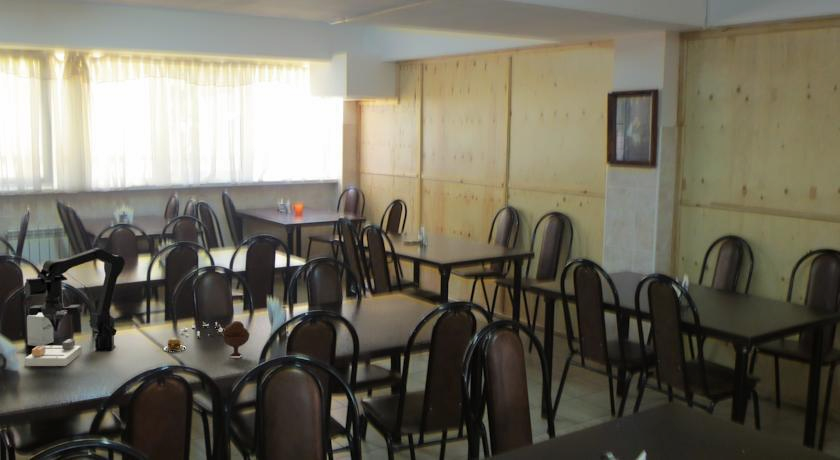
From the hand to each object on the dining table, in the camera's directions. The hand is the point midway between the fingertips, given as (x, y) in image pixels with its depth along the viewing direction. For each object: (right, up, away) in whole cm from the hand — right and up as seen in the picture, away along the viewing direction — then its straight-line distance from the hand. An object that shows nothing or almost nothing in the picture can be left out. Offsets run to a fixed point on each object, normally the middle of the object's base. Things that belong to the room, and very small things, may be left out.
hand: (56, 331), depth 311 cm
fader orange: (-4, -8, -6) cm, 11 cm away
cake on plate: (+41, -11, +18) cm, 46 cm away
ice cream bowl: (+69, -12, +10) cm, 70 cm away
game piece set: (+45, -7, +46) cm, 65 cm away
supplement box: (-17, -8, +22) cm, 28 cm away
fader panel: (-1, -11, 0) cm, 11 cm away
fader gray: (+3, -7, +5) cm, 9 cm away
